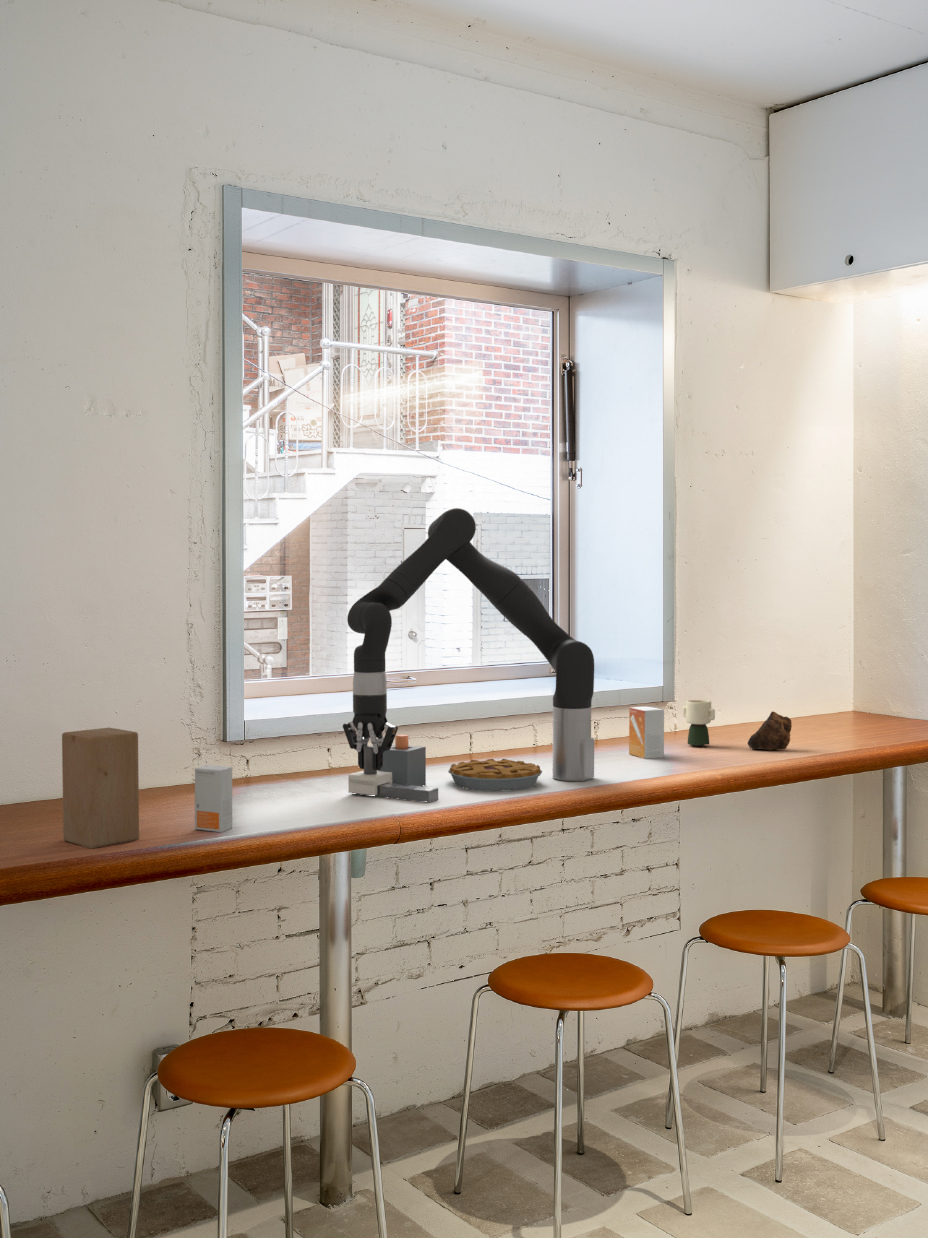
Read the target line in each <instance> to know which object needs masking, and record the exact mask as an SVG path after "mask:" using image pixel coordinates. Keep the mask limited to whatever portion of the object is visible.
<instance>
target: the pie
mask: <svg viewBox="0 0 928 1238" xmlns="http://www.w3.org/2000/svg"><path fill="white" fill-rule="evenodd" d="M447 772H448V774H450V775H451V778H452V779H453V782H454V784H455V785H457V786H458V787H459V786H460V788H463V787H464V789H466V788H468V789H467V790H471V789H473V791H478V790H483V791H482V792H503V791H502V790H510V791H518V790H524V789H525V790H526V789H529V788H533V787H535V786H536V784H537V780H538V778H539V777H540V776H541V775H542V773H543V770H541V766H540V765H538V764H537V765H536V764H535V763H531V762H528V763H527V762H525V761H523V760H517V761H515V760H512V759H506V758H503V759H501V760H495V759H494V758H490V759H486V760H478V759H477V760H476V759H471V760H469V761H467V762H465V761H461V762H458V763H457V764H456V763H453V764H451V765H450V767H449V770H448V771H447Z"/></svg>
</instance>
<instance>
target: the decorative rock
mask: <svg viewBox="0 0 928 1238" xmlns="http://www.w3.org/2000/svg"><path fill="white" fill-rule="evenodd" d="M792 726H793V724H792V719H791V718H790V717H788V716H783V715H781V714H779V713H777V712H775V711H774V710H773V711H771V712H770V714H769V716H768V717H767V719H766V720H765V721H764V722H762V724H761V726H760V727H759V728H758V730H756V731H755V733H753V734H751V736H750V737H749V739H748V741H747V746H748V747H749V748H750V749H751V748H752V749H751V750H755V749H756V748H759V749H761V750H765V749H767V750H766V751H774V750H773V749H777V750H779V749H782V750H786V749H788V746H789V744H790V742H791V730H792ZM759 749H758V750H759ZM756 750H757V749H756Z"/></svg>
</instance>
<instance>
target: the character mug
mask: <svg viewBox="0 0 928 1238" xmlns="http://www.w3.org/2000/svg"><path fill="white" fill-rule="evenodd" d="M682 717H684V718H685V722H686V723H688V724H689V728H688V736H687V745H690V746H694V745H695V746H701V747H702V746H703V747H704V746H705V745H709V746H710V735H709V734H710V733H709V729H708V726H707V725H708V724H710V723H711V722H712V721H715V718H716V710H715V709H714V708H712V701H711V700H707V699H687V700H686V701H685V705H683V707H682Z"/></svg>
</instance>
